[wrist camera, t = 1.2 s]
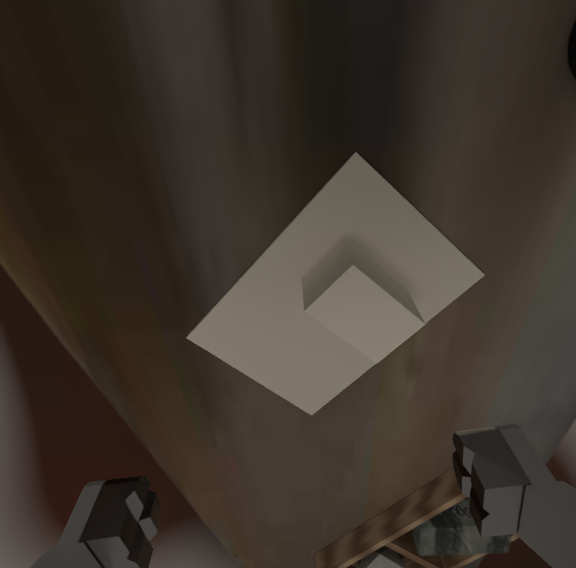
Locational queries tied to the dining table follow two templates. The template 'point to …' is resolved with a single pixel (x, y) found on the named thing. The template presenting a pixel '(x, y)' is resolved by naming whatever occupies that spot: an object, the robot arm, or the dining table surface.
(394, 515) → the walnut tray
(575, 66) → the pen holder
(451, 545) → the stone block
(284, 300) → the felt mat
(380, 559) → the die
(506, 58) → the dining table surface
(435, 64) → the dining table surface
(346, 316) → the plain beige block
